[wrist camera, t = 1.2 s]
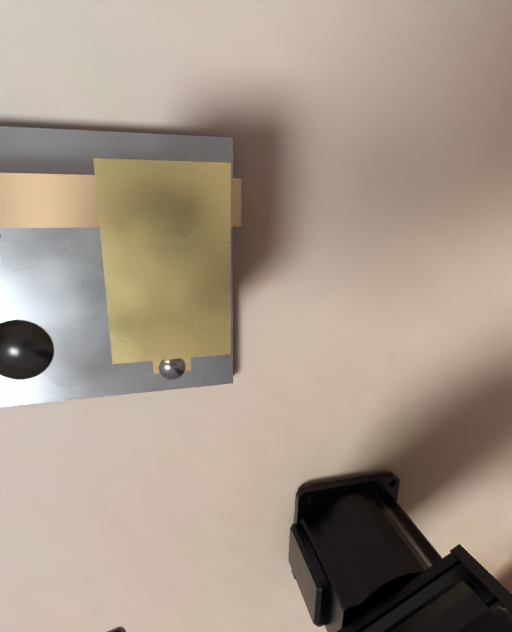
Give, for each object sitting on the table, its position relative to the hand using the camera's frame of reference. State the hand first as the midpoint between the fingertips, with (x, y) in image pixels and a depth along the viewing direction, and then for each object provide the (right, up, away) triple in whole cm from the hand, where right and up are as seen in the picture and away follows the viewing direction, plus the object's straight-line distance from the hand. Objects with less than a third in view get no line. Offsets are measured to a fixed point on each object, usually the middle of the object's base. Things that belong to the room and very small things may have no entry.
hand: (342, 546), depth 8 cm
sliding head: (-6, +7, +9) cm, 12 cm away
